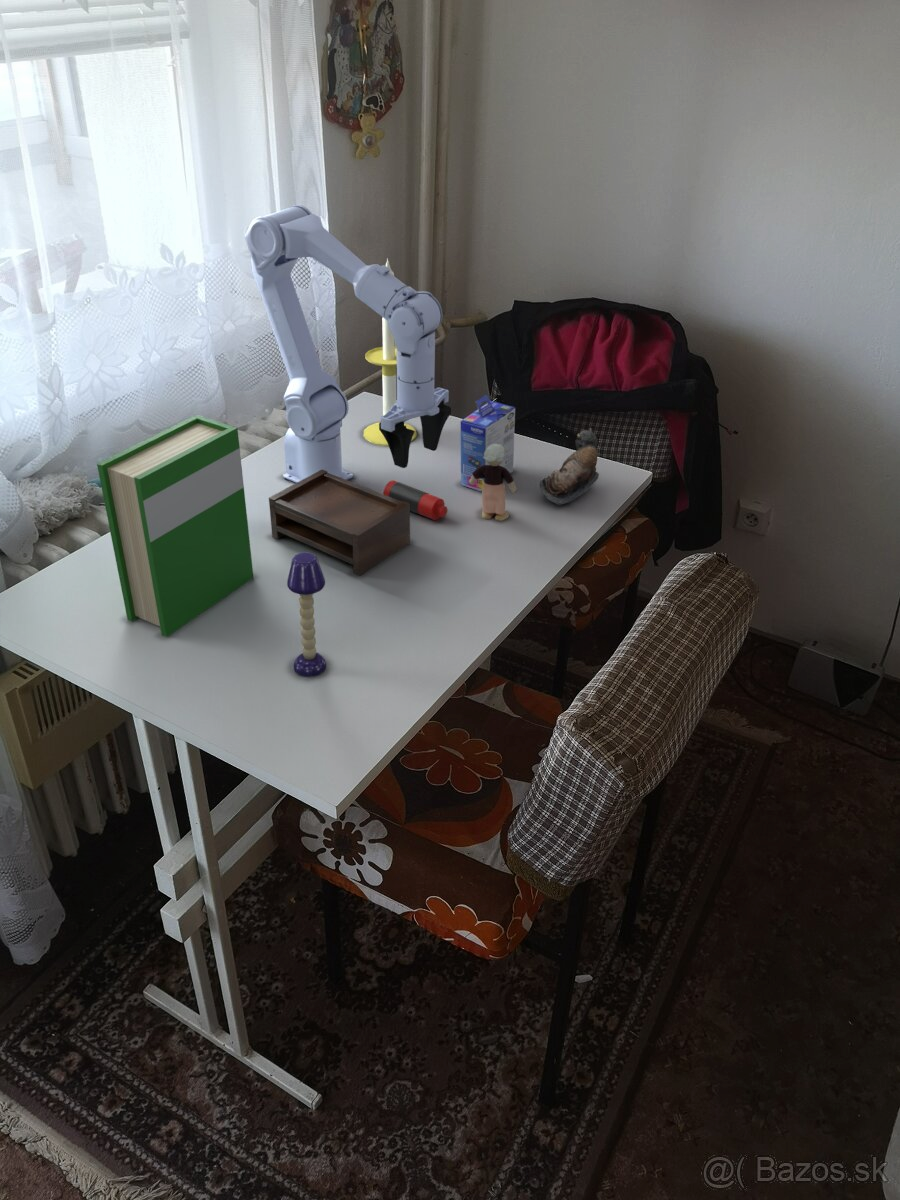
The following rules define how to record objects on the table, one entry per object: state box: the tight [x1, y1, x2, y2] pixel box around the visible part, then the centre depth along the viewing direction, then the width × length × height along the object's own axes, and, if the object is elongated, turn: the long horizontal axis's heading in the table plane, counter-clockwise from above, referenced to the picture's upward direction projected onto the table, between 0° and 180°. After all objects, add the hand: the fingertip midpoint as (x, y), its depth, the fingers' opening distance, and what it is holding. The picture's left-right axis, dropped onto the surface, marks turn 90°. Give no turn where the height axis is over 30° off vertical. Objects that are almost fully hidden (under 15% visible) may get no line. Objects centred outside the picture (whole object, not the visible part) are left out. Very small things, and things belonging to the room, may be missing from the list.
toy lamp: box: [286, 551, 327, 678], centre depth 130 cm, size 5×5×17 cm
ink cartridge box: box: [460, 394, 516, 493], centre depth 174 cm, size 10×6×14 cm, turn 147°
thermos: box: [382, 480, 448, 521], centre depth 167 cm, size 11×4×4 cm, turn 53°
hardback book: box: [96, 414, 254, 638], centre depth 140 cm, size 18×7×24 cm, turn 148°
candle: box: [363, 257, 417, 447], centre depth 183 cm, size 10×10×32 cm
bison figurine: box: [539, 427, 600, 506], centre depth 171 cm, size 12×7×10 cm, turn 142°
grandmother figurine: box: [469, 443, 517, 522], centre depth 164 cm, size 8×4×13 cm, turn 84°
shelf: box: [268, 469, 411, 577], centre depth 159 cm, size 18×12×7 cm, turn 53°
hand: (415, 457), depth 164 cm, fingers open, 7 cm apart
